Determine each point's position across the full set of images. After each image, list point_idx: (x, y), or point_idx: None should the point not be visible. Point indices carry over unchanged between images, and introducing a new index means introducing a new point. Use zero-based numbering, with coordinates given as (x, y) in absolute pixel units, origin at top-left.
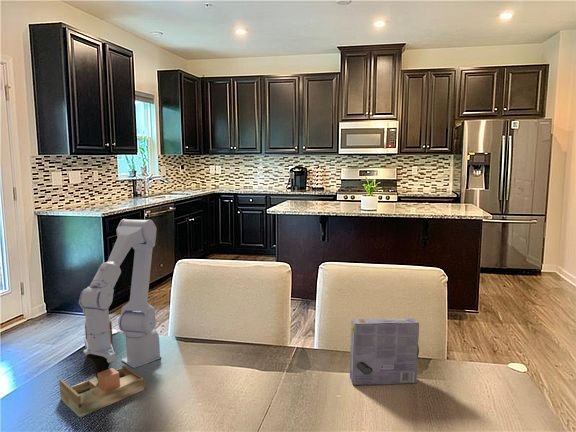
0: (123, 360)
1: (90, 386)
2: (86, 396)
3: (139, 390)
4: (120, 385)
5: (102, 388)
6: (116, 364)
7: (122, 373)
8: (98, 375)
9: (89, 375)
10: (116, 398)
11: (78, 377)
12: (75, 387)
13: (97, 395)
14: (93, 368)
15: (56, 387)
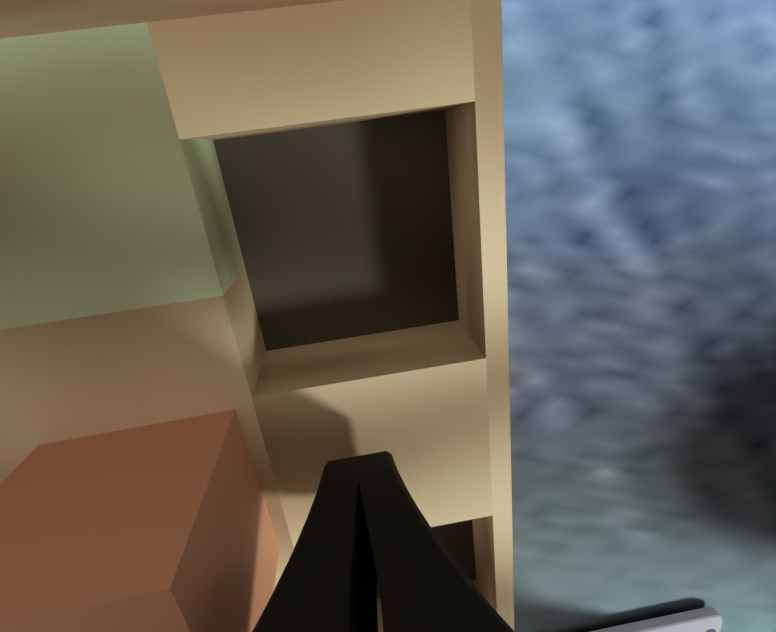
0: (688, 622)
1: (436, 338)
2: (48, 234)
3: None
4: None
5: (103, 449)
6: (692, 566)
7: (482, 591)
8: (136, 567)
9: (709, 375)
10: None
11: (763, 287)
12: (470, 184)
13: (10, 358)
14: (436, 562)
15: (773, 31)
